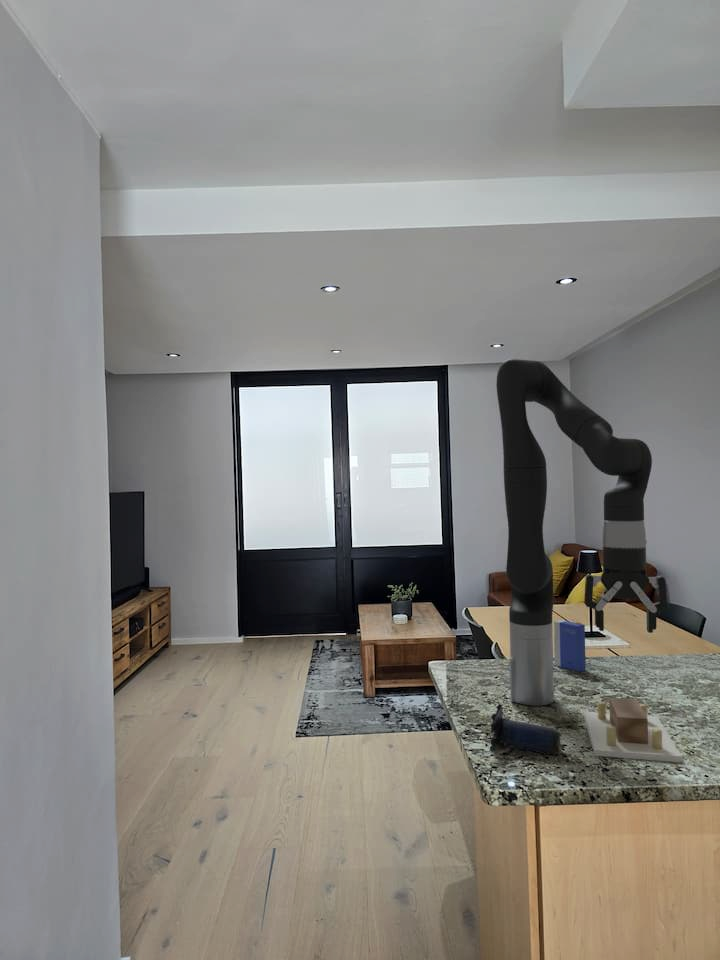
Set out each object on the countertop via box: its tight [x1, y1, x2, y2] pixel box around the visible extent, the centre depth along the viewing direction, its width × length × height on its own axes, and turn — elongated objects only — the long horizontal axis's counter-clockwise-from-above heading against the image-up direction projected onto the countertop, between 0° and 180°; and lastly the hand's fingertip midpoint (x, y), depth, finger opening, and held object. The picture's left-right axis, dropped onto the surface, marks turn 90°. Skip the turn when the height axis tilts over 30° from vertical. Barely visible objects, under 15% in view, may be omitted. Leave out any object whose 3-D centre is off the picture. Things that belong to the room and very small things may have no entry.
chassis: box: [583, 701, 683, 763], centre depth 122 cm, size 14×20×4 cm
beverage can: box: [489, 703, 562, 755], centre depth 118 cm, size 9×8×12 cm
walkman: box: [553, 619, 587, 673], centre depth 170 cm, size 8×3×12 cm, turn 32°
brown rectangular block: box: [608, 697, 648, 744], centre depth 122 cm, size 5×11×4 cm, turn 166°
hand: (625, 631), depth 123 cm, fingers open, 8 cm apart
